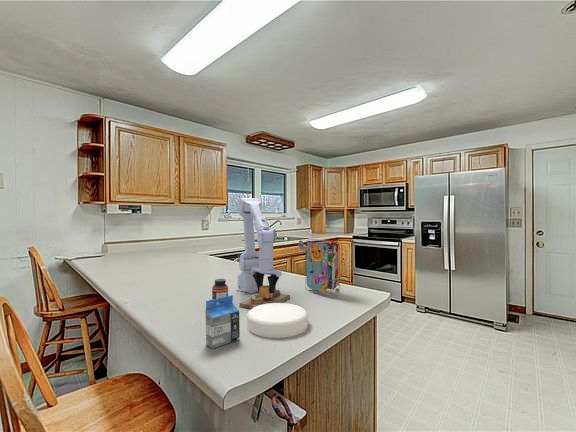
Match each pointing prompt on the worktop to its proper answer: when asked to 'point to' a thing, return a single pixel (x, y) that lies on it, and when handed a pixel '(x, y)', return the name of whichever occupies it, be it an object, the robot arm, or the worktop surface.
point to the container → (277, 320)
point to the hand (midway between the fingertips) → (265, 291)
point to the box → (321, 265)
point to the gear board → (264, 300)
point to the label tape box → (221, 322)
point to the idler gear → (265, 291)
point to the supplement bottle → (219, 290)
